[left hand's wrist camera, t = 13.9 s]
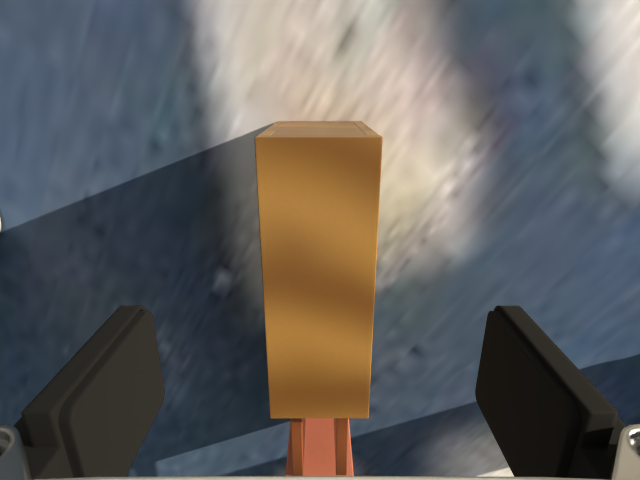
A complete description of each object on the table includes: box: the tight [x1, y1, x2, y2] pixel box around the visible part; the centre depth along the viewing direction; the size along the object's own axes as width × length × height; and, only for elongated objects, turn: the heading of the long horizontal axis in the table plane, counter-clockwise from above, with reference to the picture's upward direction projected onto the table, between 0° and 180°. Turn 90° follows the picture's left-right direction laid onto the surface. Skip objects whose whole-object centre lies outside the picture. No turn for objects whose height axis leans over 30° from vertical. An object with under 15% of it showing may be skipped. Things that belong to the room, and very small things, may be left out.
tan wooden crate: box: [255, 121, 383, 418], centre depth 29 cm, size 18×6×11 cm, turn 0°
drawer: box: [286, 418, 354, 476], centre depth 33 cm, size 23×5×9 cm, turn 0°
